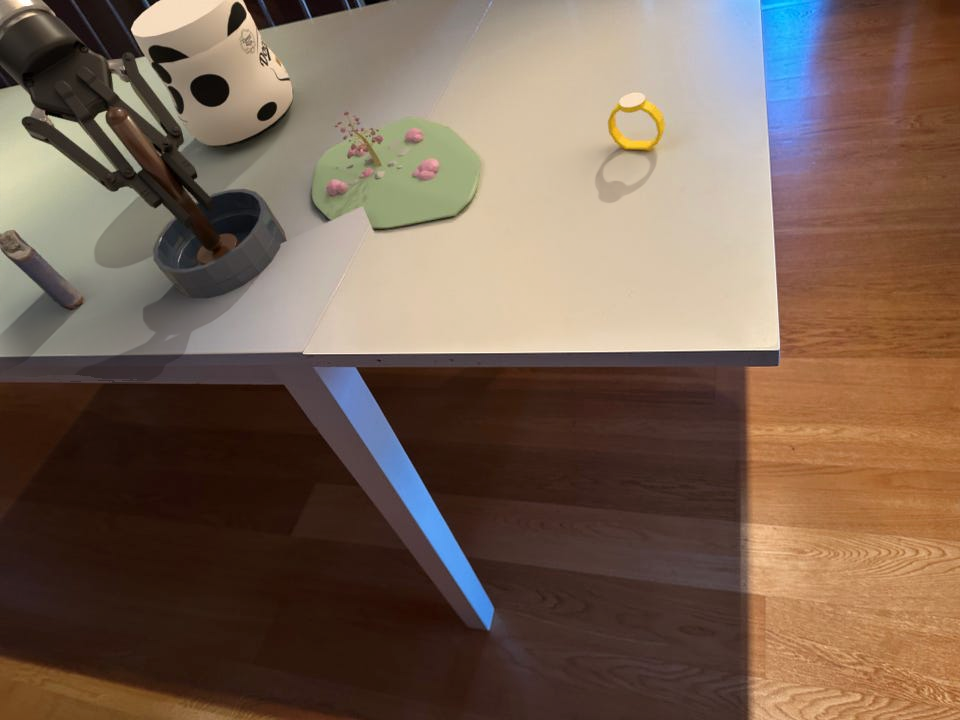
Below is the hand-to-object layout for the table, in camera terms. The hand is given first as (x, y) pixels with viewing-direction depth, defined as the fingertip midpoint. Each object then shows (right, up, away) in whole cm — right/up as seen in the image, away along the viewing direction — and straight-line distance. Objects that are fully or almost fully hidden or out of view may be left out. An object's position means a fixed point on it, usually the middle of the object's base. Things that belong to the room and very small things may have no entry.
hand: (199, 214), depth 70 cm
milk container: (-6, +21, +34) cm, 41 cm away
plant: (+20, +8, +14) cm, 25 cm away
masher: (-1, -3, +8) cm, 9 cm away
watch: (+47, +8, +5) cm, 48 cm away
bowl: (0, -4, +11) cm, 12 cm away
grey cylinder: (-25, -7, +18) cm, 31 cm away
